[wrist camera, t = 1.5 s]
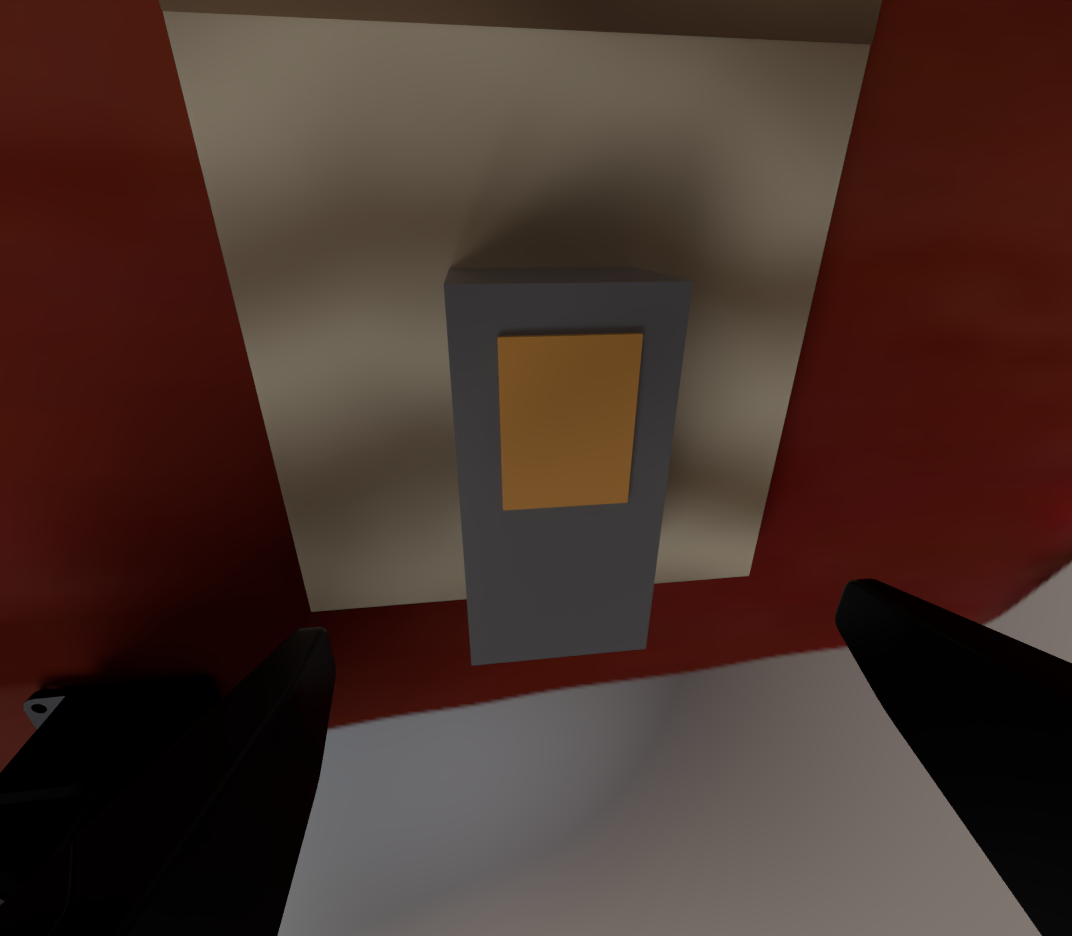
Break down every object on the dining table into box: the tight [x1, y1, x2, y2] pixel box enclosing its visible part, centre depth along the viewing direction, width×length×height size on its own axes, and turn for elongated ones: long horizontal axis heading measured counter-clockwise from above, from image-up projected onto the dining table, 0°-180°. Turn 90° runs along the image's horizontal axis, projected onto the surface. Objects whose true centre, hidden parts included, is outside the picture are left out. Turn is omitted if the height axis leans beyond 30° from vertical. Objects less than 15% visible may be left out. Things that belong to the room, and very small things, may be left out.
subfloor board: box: [159, 0, 882, 612], centre depth 14 cm, size 22×16×2 cm
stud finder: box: [444, 267, 693, 666], centre depth 14 cm, size 10×5×4 cm, turn 0°
